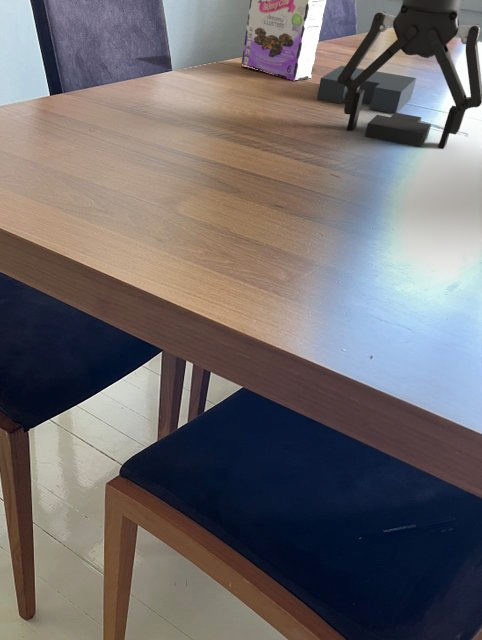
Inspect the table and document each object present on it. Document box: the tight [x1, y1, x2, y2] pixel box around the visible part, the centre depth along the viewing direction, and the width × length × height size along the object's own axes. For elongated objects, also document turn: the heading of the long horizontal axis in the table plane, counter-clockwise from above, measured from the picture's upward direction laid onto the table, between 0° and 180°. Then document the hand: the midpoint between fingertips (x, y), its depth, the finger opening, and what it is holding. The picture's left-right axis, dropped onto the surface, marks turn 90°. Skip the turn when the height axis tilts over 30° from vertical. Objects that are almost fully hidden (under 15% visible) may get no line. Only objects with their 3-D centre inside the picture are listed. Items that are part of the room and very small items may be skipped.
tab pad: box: [364, 112, 432, 149], centre depth 108 cm, size 8×10×4 cm
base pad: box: [316, 65, 417, 115], centre depth 131 cm, size 14×14×4 cm
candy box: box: [241, 0, 327, 82], centre depth 139 cm, size 14×6×16 cm, turn 43°
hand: (393, 147), depth 107 cm, fingers open, 12 cm apart
